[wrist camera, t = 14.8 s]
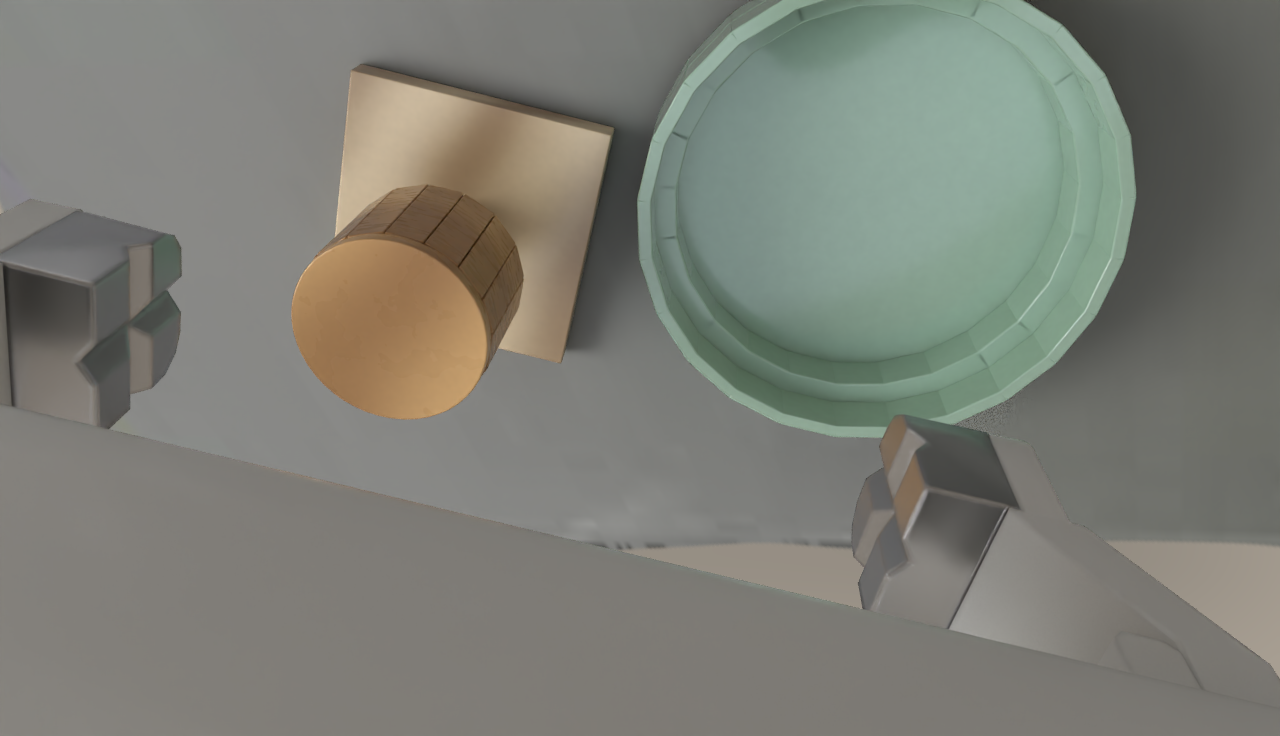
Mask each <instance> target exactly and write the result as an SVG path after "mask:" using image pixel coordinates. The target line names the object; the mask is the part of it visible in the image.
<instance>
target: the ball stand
mask: <svg viewBox="0 0 1280 736" xmlns="http://www.w3.org/2000/svg"><path fill="white" fill-rule="evenodd" d="M614 130H615V129H614V128H613V127H609V126H605V125H601V124H597V123H593V122H589V121H585V120H581V119H577V118H573V117H570V116H566V115H562V114H558V113H554V112H550V111H546V110H542V109H538V108H534V107H530V106H526V105H522V104H518V103H514V102H510V101H506V100H502V99H498V98H494V97H490V96H486V95H482V94H478V93H474V92H470V91H466V90H462V89H459V88H455V87H451V86H447V85H443V84H439V83H435V82H431V81H427V80H423V79H419V78H415V77H411V76H407V75H403V74H399V73H395V72H391V71H387V70H383V69H379V68H375V67H371V66H367V65H363V64H360V65H359V66H357V67H355V68H354V69H352V70H351V74H350V84H349V95H348V105H347V116H346V126H345V137H344V147H343V158H342V168H341V179H340V189H339V200H338V210H337V221H336V231H335V237H336V236H337V235H338V234H339V233H340V232H341V231H342V230H343V229H344V228H345V227H346V226H347V225H348V224H349V223H350V222H351V221H352V220H353V219H354V218H355V217H356V216H357V215H358V214H359V213H360V212H362V211H363V210H364V209H365V208H366V207H367V206H368V205H369V204H371V203H372V202H374V201H375V200H377V199H379V198H380V197H382V196H383V195H385V194H386V193H388V192H390V191H391V190H393V189H394V190H395V189H396V188H402V187H410V186H417V185H424V184H428V186H429V185H430V184H431V185H435V186H439V187H442V188H446V189H450V190H454V191H458V192H462V193H463V196H464V195H465V194H466V195H468V196H469V197H471V198H472V199H474V200H475V201H477V202H478V203H479V204H481V205H482V206H484V207H485V208H487V209H488V210H490V211H491V212H492V213H494V216H497V218H498V219H499V220H500V222H501V223H502V225H503V226H504V227H505V229H506V230H507V232H508V233H509V235H510V236H511V237H512V239H513V240H514V242H515V245H516V246H517V249H518V253H519V257H520V261H521V265H522V270H523V274H524V277H523V278H524V283H523V288H522V294H521V299H520V305H519V308H518V311H517V313H516V314H515V316H514V318H513V320H512V322H511V324H510V326H509V328H508V330H507V332H506V333H505V335H504V337H503V339H502V341H501V343H500V345H499V347H498V348H500V349H504V350H508V351H512V352H516V353H520V354H524V355H528V356H533V357H537V358H541V359H545V360H549V361H553V362H557V363H561V362H562V360H563V356H564V353H565V350H566V346H567V341H568V337H569V332H570V328H571V323H572V319H573V314H574V310H575V305H576V301H577V296H578V292H579V287H580V283H581V278H582V274H583V269H584V265H585V260H586V256H587V251H588V247H589V242H590V238H591V233H592V229H593V224H594V220H595V215H596V211H597V206H598V202H599V197H600V193H601V188H602V184H603V179H604V175H605V170H606V166H607V161H608V157H609V152H610V148H611V143H612V139H613V134H614ZM494 216H493V217H494ZM515 245H514V246H515Z"/></svg>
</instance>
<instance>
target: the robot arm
mask: <svg viewBox="0 0 1280 736" xmlns="http://www.w3.org/2000/svg"><path fill="white" fill-rule="evenodd" d="M181 276H182V270H181V247H180V245H179V243H178V241H177V239H176V237H175V235H171V234H167V233H163V232H159V231H156V230H152V229H148V228H144V227H140V226H137V225H133V224H129V223H125V222H121V221H118V220H114V219H110V218H106V217H103V216H99V215H95V214H91V213H87V212H83V211H82V210H81V209H76V208H72V207H67V206H62V205H57V204H53V203H48V202H43V201H38V200H34V199H29V200H27V201H25V202H23V203H21V204H19V205H17V206H16V207H14V208H12V209H10V210H8V211H6V212H4V213H2V214H0V736H1280V679H1279V677H1278V676H1277V674H1276V673H1275V671H1274V669H1273V668H1272V666H1271V665H1270V664H1269V663H1267V662H1266V661H1265V660H1264V659H1262V658H1261V657H1260V656H1258V655H1257V654H1256V653H1254V652H1253V651H1251V650H1250V649H1249V648H1247V647H1246V646H1245V645H1243V644H1242V643H1241V642H1239V641H1238V640H1237V639H1235V638H1234V637H1233V636H1231V635H1230V634H1229V633H1227V632H1226V631H1224V630H1223V629H1222V628H1220V627H1219V626H1218V625H1217V624H1215V623H1214V622H1213V621H1211V620H1210V619H1208V618H1207V617H1206V616H1204V615H1203V614H1202V613H1200V612H1199V611H1198V610H1196V609H1195V608H1194V607H1192V606H1191V605H1189V604H1188V603H1187V602H1186V601H1184V600H1183V599H1181V598H1180V597H1179V596H1178V595H1176V594H1175V593H1174V592H1172V591H1171V590H1169V589H1168V588H1167V587H1165V586H1164V585H1163V584H1161V583H1160V582H1159V581H1157V580H1156V579H1155V578H1153V577H1152V576H1151V575H1149V574H1148V573H1147V572H1145V571H1144V570H1143V569H1141V568H1140V567H1139V566H1137V565H1136V564H1134V563H1133V562H1132V561H1130V560H1129V559H1128V558H1126V557H1125V556H1124V555H1122V554H1121V553H1120V552H1118V551H1117V550H1116V549H1114V548H1113V547H1112V546H1110V545H1109V544H1108V543H1106V542H1105V541H1104V540H1102V539H1101V538H1100V537H1098V536H1097V535H1096V534H1094V533H1093V532H1092V531H1090V530H1089V529H1088V528H1086V527H1085V526H1082V525H1078V524H1074V523H1070V521H1069V519H1068V517H1067V515H1066V513H1065V511H1064V509H1063V507H1062V505H1061V503H1060V501H1059V499H1058V497H1057V495H1056V493H1055V491H1054V489H1053V487H1052V485H1051V483H1050V481H1049V479H1048V477H1047V475H1046V473H1045V471H1044V469H1043V467H1042V465H1041V463H1040V461H1039V459H1038V457H1037V455H1036V453H1035V451H1034V449H1033V447H1032V446H1031V445H1030V444H1028V443H1026V442H1024V441H1020V440H1015V439H1010V438H1005V437H999V436H994V435H989V434H987V432H982V431H978V430H973V429H968V428H964V427H959V426H955V425H950V424H946V423H941V422H937V421H932V420H928V419H923V418H919V417H914V416H910V415H905V414H900V415H895V416H894V418H893V419H892V421H891V422H890V424H889V425H888V427H887V429H886V431H885V434H884V436H883V438H882V441H881V443H880V445H879V448H880V452H881V457H882V461H883V465H884V467H883V468H881V469H880V470H878V471H877V472H875V473H874V474H872V475H871V476H869V477H867V478H866V480H865V482H864V485H863V488H862V490H861V493H860V496H859V498H858V501H857V504H856V509H855V514H854V518H853V523H852V549H853V556H854V558H855V559H856V560H857V561H858V562H859V563H860V564H861V565H862V566H863V567H864V570H863V572H862V575H861V577H860V579H859V582H858V586H859V591H860V596H861V602H862V608H863V609H860V608H856V607H852V606H848V605H843V604H839V603H835V602H831V601H827V600H822V599H818V598H814V597H809V596H805V595H801V594H797V593H793V592H788V591H785V590H780V589H776V588H772V587H768V586H763V585H759V584H755V583H751V582H747V581H742V580H738V579H734V578H730V577H725V576H721V575H717V574H713V573H709V572H704V571H700V570H696V569H692V568H688V567H683V566H679V565H675V564H671V563H667V562H662V561H658V560H654V559H650V558H646V557H641V556H637V555H633V554H629V553H625V552H621V551H617V550H612V549H608V548H604V547H600V546H596V545H591V544H587V543H583V542H579V541H575V540H571V539H566V538H562V537H558V536H554V535H550V534H545V533H541V532H537V531H533V530H529V529H524V528H520V527H516V526H512V525H508V524H504V523H499V522H495V521H491V520H487V519H483V518H478V517H474V516H470V515H466V514H462V513H457V512H453V511H449V510H445V509H441V508H436V507H432V506H428V505H424V504H420V503H416V502H411V501H407V500H403V499H399V498H395V497H390V496H386V495H382V494H378V493H374V492H369V491H365V490H361V489H357V488H353V487H349V486H344V485H340V484H336V483H332V482H328V481H323V480H319V479H315V478H311V477H307V476H302V475H298V474H294V473H290V472H286V471H281V470H277V469H273V468H269V467H265V466H261V465H256V464H252V463H248V462H244V461H240V460H235V459H231V458H227V457H223V456H219V455H214V454H210V453H206V452H202V451H198V450H193V449H189V448H185V447H181V446H177V445H173V444H168V443H164V442H160V441H156V440H152V439H147V438H143V437H139V436H135V435H131V434H126V433H122V432H118V431H114V430H110V429H109V428H111V427H112V426H113V425H114V424H115V423H116V422H117V421H118V420H119V419H120V418H121V417H122V416H123V415H124V414H125V413H126V412H127V411H129V410H130V394H134V393H137V392H141V391H144V390H148V389H152V388H153V387H154V386H155V385H156V383H157V382H158V381H159V380H160V379H161V378H162V377H163V376H164V375H165V374H166V372H167V370H168V368H169V366H170V364H171V362H172V359H173V357H174V355H175V353H176V349H177V344H178V340H179V335H180V320H181V312H180V310H179V308H178V307H177V305H176V304H175V302H174V300H173V299H172V297H171V296H170V294H169V292H168V291H167V290H168V289H169V288H170V287H171V286H172V285H173V284H174V283H175V282H176V281H177V280H178V279H179V278H180V277H181Z"/></svg>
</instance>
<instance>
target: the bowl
mask: <svg viewBox="0 0 1280 736" xmlns="http://www.w3.org/2000/svg"><path fill="white" fill-rule="evenodd" d="M1136 196H1137V194H1136V183H1135V173H1134V162H1133V151H1132V140H1131V135H1130V131H1129V128H1128V126H1127V124H1126V121H1125V119H1124V116H1123V114H1122V112H1121V109H1120V107H1119V104H1118V102H1117V100H1116V97H1115V95H1114V93H1113V90H1112V88H1111V85H1110V83H1109V81H1108V78H1107V76H1106V75H1105V73H1104V72H1103V71H1102V69H1101V68H1100V67H1099V66H1098V65H1097V64H1096V62H1095V61H1094V60H1093V59H1092V58H1091V57H1090V55H1089V54H1088V53H1087V52H1086V51H1085V50H1084V48H1083V47H1082V46H1081V45H1080V44H1079V43H1078V41H1077V40H1076V39H1075V38H1074V37H1073V36H1072V34H1071V33H1070V32H1069V31H1068V30H1067V29H1066V27H1065V26H1064V25H1062V24H1061V23H1060V22H1058V21H1057V20H1055V19H1053V18H1052V17H1050V16H1048V15H1047V14H1045V13H1044V12H1042V11H1040V10H1039V9H1037V8H1035V7H1034V6H1032V5H1031V4H1029V3H1027V2H1026V1H1024V0H751V1H750V2H748V3H746V4H745V5H743V6H742V7H740V8H738V9H737V10H735V11H734V12H733V13H732V14H731V15H729V16H728V17H727V18H726V19H725V20H724V21H723V22H722V24H721V25H720V26H719V27H718V28H717V29H716V30H715V31H714V32H713V33H712V34H711V35H710V36H709V37H708V38H707V39H706V40H705V41H704V43H703V44H702V45H701V46H700V47H699V48H698V49H697V50H696V51H695V52H694V53H693V54H692V55H691V56H690V57H689V60H687V61H686V63H685V65H684V67H683V69H682V70H681V72H680V74H679V76H678V78H677V80H676V81H675V83H674V85H673V87H672V89H671V91H670V92H669V94H668V96H667V98H666V100H665V102H664V103H663V105H662V107H661V109H660V111H659V114H658V117H657V121H656V124H655V128H654V132H653V136H652V139H651V143H650V148H649V152H648V156H647V160H646V164H645V168H644V172H643V177H642V181H641V185H640V189H639V193H638V197H637V221H638V248H639V262H640V265H641V268H642V271H643V274H644V277H645V280H646V283H647V286H648V290H649V293H650V296H651V299H652V302H653V305H654V308H655V311H656V313H657V316H658V317H659V319H660V320H661V322H662V323H663V325H664V326H665V328H666V329H667V331H668V332H669V334H670V336H671V337H672V339H673V340H674V342H675V343H676V345H677V346H678V348H679V349H680V351H681V352H682V354H683V355H684V357H685V358H686V360H688V362H689V363H690V364H691V365H693V366H694V367H695V368H696V369H697V370H698V371H699V372H700V373H702V374H703V375H704V376H705V377H706V378H707V379H708V380H709V381H711V382H712V383H713V384H714V385H715V386H716V387H717V388H718V389H720V390H721V391H722V392H723V393H724V394H725V395H726V396H727V397H729V398H730V399H732V400H734V401H736V402H738V403H740V404H742V405H744V406H746V407H748V408H750V409H752V410H754V411H756V412H758V413H760V414H762V415H763V416H765V417H767V418H769V419H771V420H773V421H775V422H777V423H780V424H783V425H787V426H791V427H795V428H799V429H804V430H808V431H812V432H816V433H820V434H824V435H828V436H832V437H877V438H883V436H884V434H885V431H886V429H887V427H888V425H889V424H890V422H891V421H892V419H893V418H894V416H895V415H900V414H905V415H910V416H914V417H919V418H923V419H928V420H932V421H937V422H941V423H946V424H951V425H953V424H955V423H957V422H960V421H962V420H964V419H966V418H969V417H971V416H973V415H975V414H978V413H980V412H982V411H984V410H986V409H989V408H991V407H993V406H995V405H998V404H1000V403H1002V402H1004V401H1006V400H1008V399H1009V398H1011V397H1012V396H1013V395H1015V394H1016V393H1017V392H1019V391H1020V390H1021V389H1023V388H1024V387H1025V386H1027V385H1028V384H1029V383H1031V382H1032V381H1033V380H1035V379H1036V378H1037V377H1039V376H1040V375H1041V374H1043V373H1044V372H1045V371H1047V370H1048V369H1049V368H1051V367H1052V366H1054V365H1055V364H1056V363H1057V362H1058V361H1059V360H1060V358H1061V357H1062V356H1063V355H1064V354H1065V353H1066V351H1067V350H1068V349H1069V348H1070V347H1071V345H1072V344H1073V343H1074V342H1075V341H1076V340H1077V338H1078V337H1079V336H1080V335H1081V334H1082V332H1083V331H1084V330H1085V329H1086V328H1087V326H1088V325H1089V324H1090V323H1091V322H1092V321H1093V319H1094V318H1095V317H1096V315H1097V314H1098V312H1099V310H1100V308H1101V306H1102V304H1103V302H1104V300H1105V298H1106V296H1107V294H1108V292H1109V290H1110V288H1111V286H1112V283H1113V281H1114V279H1115V277H1116V275H1117V273H1118V271H1119V269H1120V267H1121V265H1122V263H1123V261H1124V258H1125V254H1126V249H1127V244H1128V239H1129V234H1130V229H1131V223H1132V218H1133V213H1134V208H1135V203H1136ZM1055 362H1056V363H1055Z"/></svg>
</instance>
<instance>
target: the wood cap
mask: <svg viewBox="0 0 1280 736" xmlns="http://www.w3.org/2000/svg"><path fill="white" fill-rule="evenodd" d="M493 216H494V213H492V212H491V211H490V210H488V209H487V208H485V207H484V206H482V205H481V204H479V203H478V202H477V201H475V200H474V199H472V198H471V197H469V196H468V195H466V194H465V195H464V196H463V193H462V192H458V191H454V190H450V189H446V188H442V187H439V186H435V185H431V184H430V185H429V186H428V184H424V185H417V186H410V187H402V188H396V189H395V190H394V189H393V190H391V191H390V192H388V193H386V194H385V195H383V196H382V197H380V198H379V199H377V200H375V201H374V202H372V203H371V204H369V205H368V206H367V207H366V208H365V209H364V210H363V211H362V212H360V213H359V214H358V215H357V216H356V217H355V218H354V219H353V220H352V221H351V222H350V223H349V224H348V225H347V226H346V227H345V228H344V229H343V230H342V231H341V232H340V233H339V234H338V235H337V236H336V237H334V238H333V239H332V240H331V241H330V242H329V243H328V244H327V245H326V246H325V247H324V248H323V249H322V250H321V251H320V252H319V253H318V254H317V255H316V256H315V257H314V259H313V261H312V262H311V263H310V264H309V265H308V266H307V268H306V269H305V271H304V272H303V274H302V275H301V277H300V279H299V281H298V283H297V285H296V288H295V292H294V295H293V301H292V325H293V332H294V335H295V338H296V342H297V345H298V347H299V349H300V352H301V354H302V356H303V357H304V359H305V361H306V363H307V364H308V366H309V367H310V369H311V370H312V371H313V373H314V374H315V375H316V376H317V378H318V379H319V380H320V381H321V382H322V383H323V384H324V385H325V386H326V387H327V388H328V389H330V390H331V391H332V392H333V393H334V394H336V395H337V396H339V397H340V398H341V399H343V400H344V401H346V402H348V403H349V404H351V405H353V406H355V407H357V408H359V409H361V410H364V411H366V412H369V413H372V414H375V415H378V416H383V417H387V418H394V419H419V418H426V417H430V416H434V415H437V414H440V413H442V412H445V411H447V410H449V409H451V408H452V407H454V406H456V405H457V404H459V403H460V402H461V401H462V400H463V399H465V398H466V397H467V396H468V395H469V394H470V392H471V391H472V390H473V389H474V388H475V386H476V384H477V383H478V381H479V380H480V378H481V376H482V375H483V373H484V372H485V371H486V369H487V368H488V366H489V364H490V362H491V360H492V358H493V356H494V354H495V352H496V351H497V349H498V347H499V345H500V343H501V341H502V339H503V337H504V335H505V333H506V332H507V330H508V328H509V326H510V324H511V322H512V320H513V318H514V316H515V314H516V313H517V311H518V308H519V305H520V299H521V294H522V288H523V283H524V278H523V277H524V274H523V270H522V265H521V261H520V257H519V253H518V249H517V246H516V245H515V242H514V240H513V239H512V237H511V236H510V235H509V233H508V232H507V230H506V229H505V227H504V226H503V225H502V223H501V222H500V220H499V219H498V218H497V216H494V217H493ZM514 245H515V246H514Z"/></svg>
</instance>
